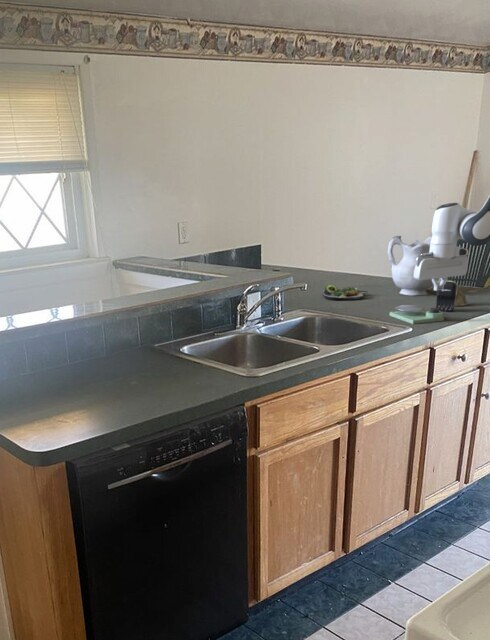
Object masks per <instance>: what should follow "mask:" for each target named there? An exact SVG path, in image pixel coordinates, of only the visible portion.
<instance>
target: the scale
mask: <svg viewBox="0 0 490 640" xmlns="http://www.w3.org/2000/svg"><path fill="white" fill-rule="evenodd" d="M389 316H390V317H393V318H395V319H398V320H400V321H403V322H407V323H409V324H412V325H418V324H426V323H433V322H442V321H444V319H445V317H444V312H443V311H439V313H430V309H429V310H423V311H420V312H402V311H398V310H396V311H390V312H389Z"/></svg>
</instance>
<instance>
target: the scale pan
mask: <svg viewBox="0 0 490 640" xmlns="http://www.w3.org/2000/svg"><path fill="white" fill-rule="evenodd" d="M395 310H396V311H402V312H420V311H423V310H424V307H423V306H421V305H416V304H400V305H397V306H395ZM424 311H425V310H424Z"/></svg>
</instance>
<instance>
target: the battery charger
mask: <svg viewBox="0 0 490 640" xmlns="http://www.w3.org/2000/svg"><path fill="white" fill-rule="evenodd" d="M452 281H453V280H452ZM452 281H447V282H446V283H445V285H444V289H443V290H438V291H436V301H435V302H436V303H435V308H439V311H442V312H443V313H453V312H454V311H455V307H456V306H455V300H456V294H457V284H458V283H457V282H456V281H454V282H452ZM439 284H440V282H438V285H439Z"/></svg>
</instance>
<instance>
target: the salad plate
mask: <svg viewBox="0 0 490 640" xmlns="http://www.w3.org/2000/svg"><path fill="white" fill-rule="evenodd" d="M368 292H369V291H368V290H359V289H358V287H353V286H352V287H351V286H347V287H343V288H342V289H340V288H338V287H337V286H336V285H334V284H331V283H329V284H326V286H325V287H324V290H323V291H322V292H321V293H322V296H323V298H324V299H325V300H328V301H353V300H354V301H355V300H360V299H361V298H363V297H364V294H366V293H368Z"/></svg>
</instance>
